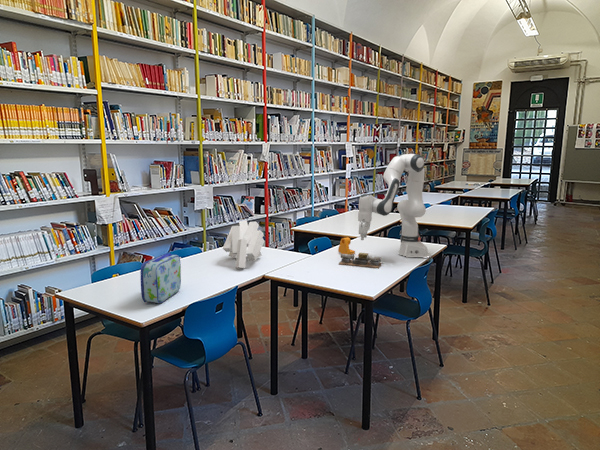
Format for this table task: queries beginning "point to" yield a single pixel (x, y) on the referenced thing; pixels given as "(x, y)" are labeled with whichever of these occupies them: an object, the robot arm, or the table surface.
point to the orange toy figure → (345, 246)
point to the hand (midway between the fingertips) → (363, 238)
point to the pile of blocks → (244, 242)
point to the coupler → (363, 255)
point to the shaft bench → (360, 261)
